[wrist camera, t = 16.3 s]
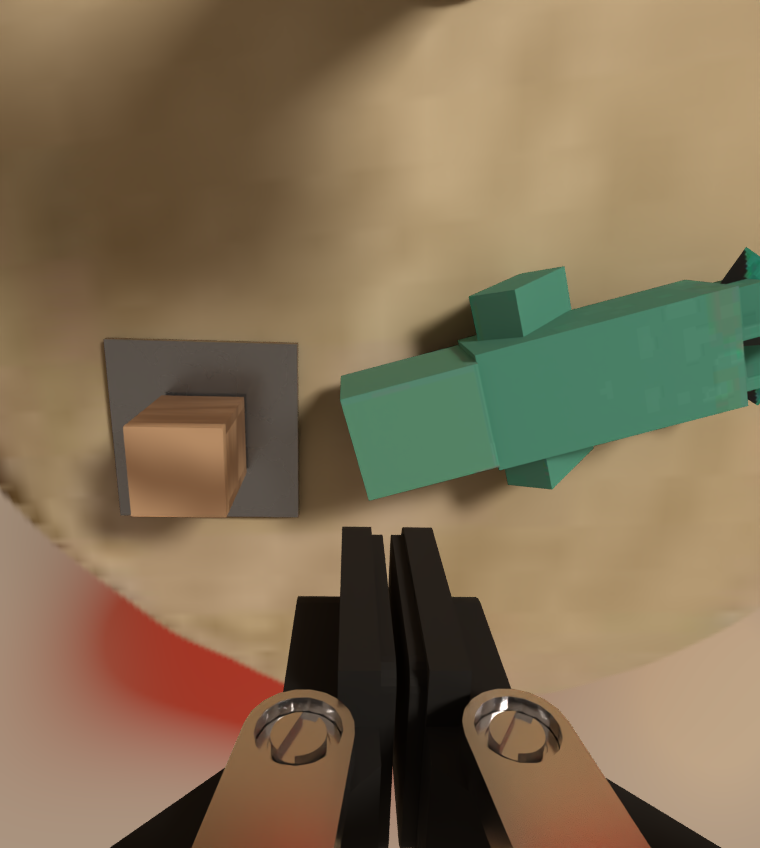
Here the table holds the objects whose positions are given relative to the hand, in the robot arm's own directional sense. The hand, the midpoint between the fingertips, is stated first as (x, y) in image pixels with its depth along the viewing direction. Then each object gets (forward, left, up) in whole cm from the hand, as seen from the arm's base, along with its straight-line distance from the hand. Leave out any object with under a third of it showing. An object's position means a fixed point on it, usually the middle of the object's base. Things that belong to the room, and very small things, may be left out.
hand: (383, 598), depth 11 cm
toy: (0, +14, -30) cm, 33 cm away
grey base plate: (+6, -10, -29) cm, 31 cm away
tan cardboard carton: (+6, -10, -28) cm, 30 cm away
